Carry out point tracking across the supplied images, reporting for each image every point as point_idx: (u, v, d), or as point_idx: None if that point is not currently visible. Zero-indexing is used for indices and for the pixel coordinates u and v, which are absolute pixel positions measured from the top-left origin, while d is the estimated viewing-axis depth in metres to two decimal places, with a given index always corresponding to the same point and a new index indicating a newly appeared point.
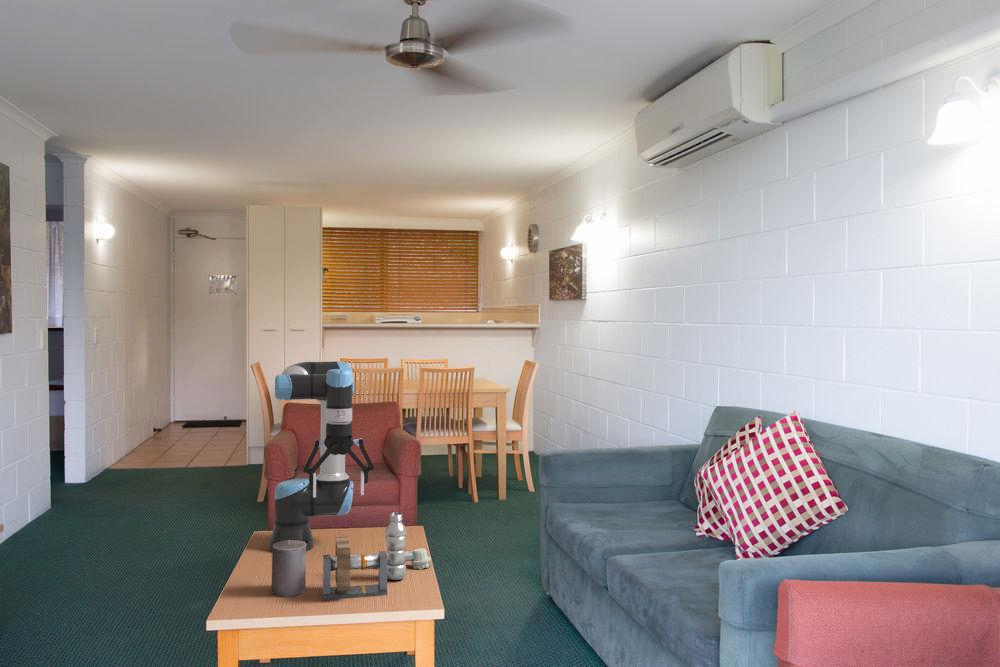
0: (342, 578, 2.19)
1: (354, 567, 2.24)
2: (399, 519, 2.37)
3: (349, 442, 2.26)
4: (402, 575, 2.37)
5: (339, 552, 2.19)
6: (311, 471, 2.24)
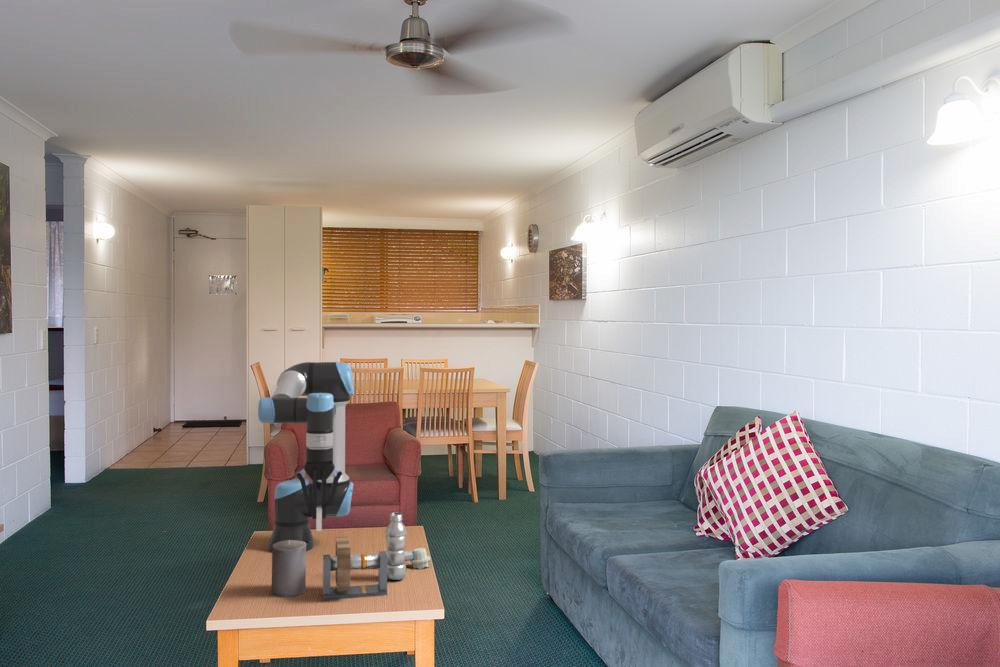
0: (342, 578, 2.19)
1: (354, 567, 2.24)
2: (399, 519, 2.37)
3: (330, 467, 2.22)
4: (402, 575, 2.37)
5: (339, 552, 2.19)
6: (313, 505, 2.21)
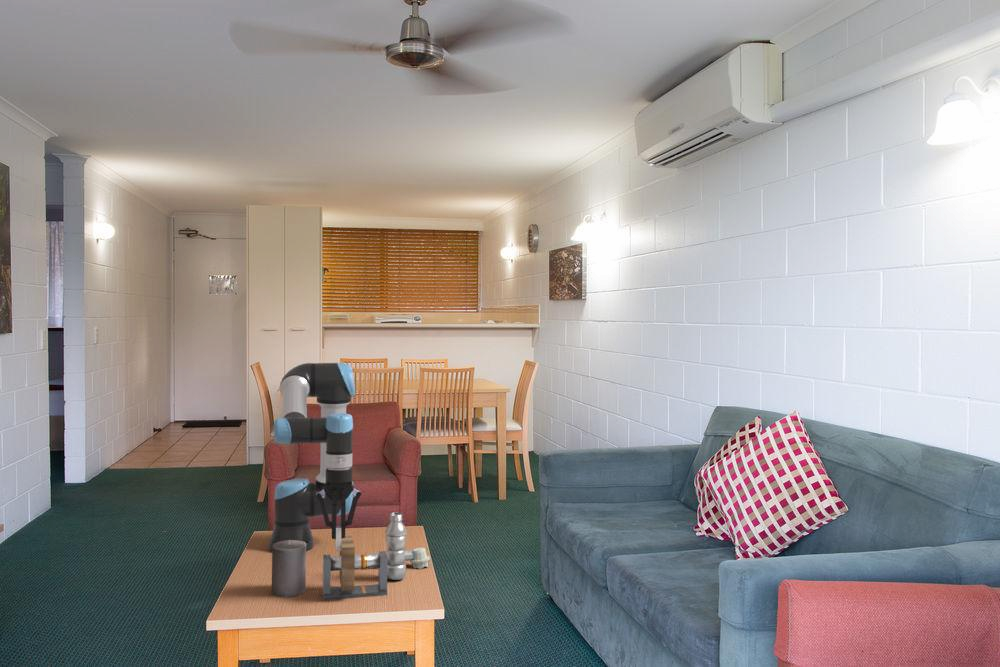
0: (346, 578, 2.19)
1: None
2: (399, 519, 2.37)
3: (349, 487, 2.24)
4: (402, 575, 2.37)
5: (343, 552, 2.19)
6: (333, 525, 2.23)
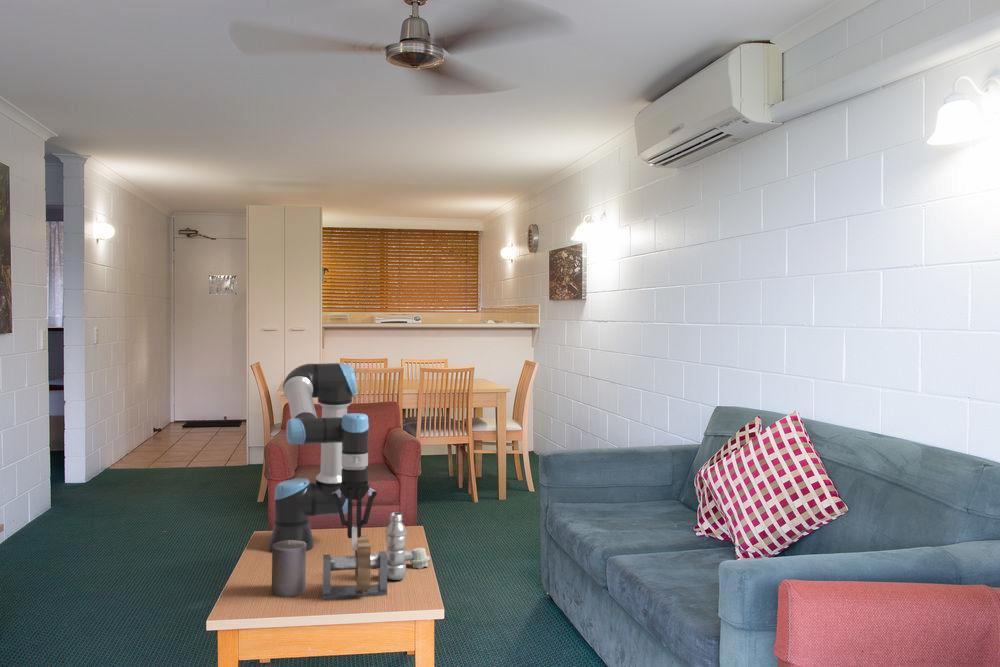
0: (362, 577, 2.20)
1: (354, 567, 2.24)
2: (399, 519, 2.37)
3: (365, 487, 2.25)
4: (402, 575, 2.37)
5: (359, 551, 2.20)
6: (349, 524, 2.24)
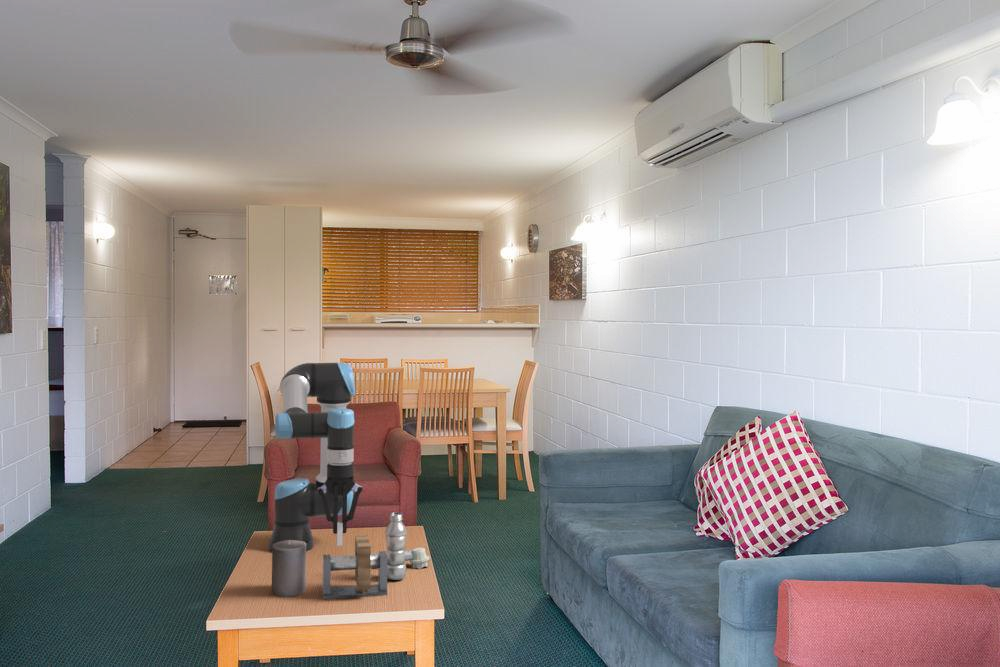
0: (362, 577, 2.20)
1: (354, 567, 2.24)
2: (399, 519, 2.37)
3: (351, 483, 2.24)
4: (402, 575, 2.37)
5: (360, 551, 2.20)
6: (334, 520, 2.23)
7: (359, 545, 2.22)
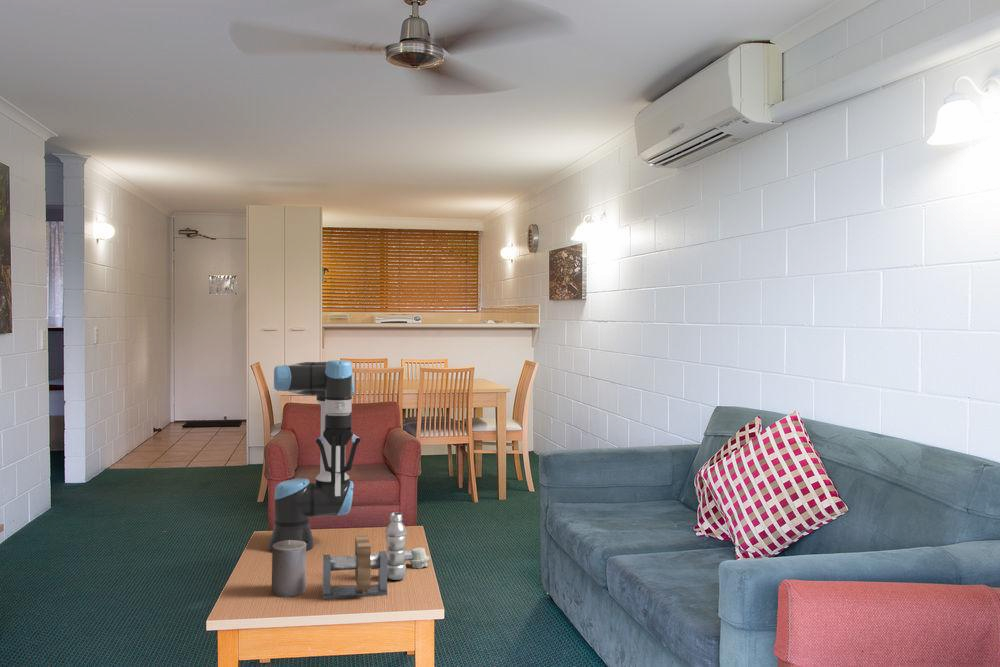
0: (362, 577, 2.20)
1: (354, 567, 2.24)
2: (399, 519, 2.37)
3: (348, 433, 2.25)
4: (402, 575, 2.37)
5: (360, 551, 2.20)
6: (332, 470, 2.24)
7: (359, 545, 2.22)
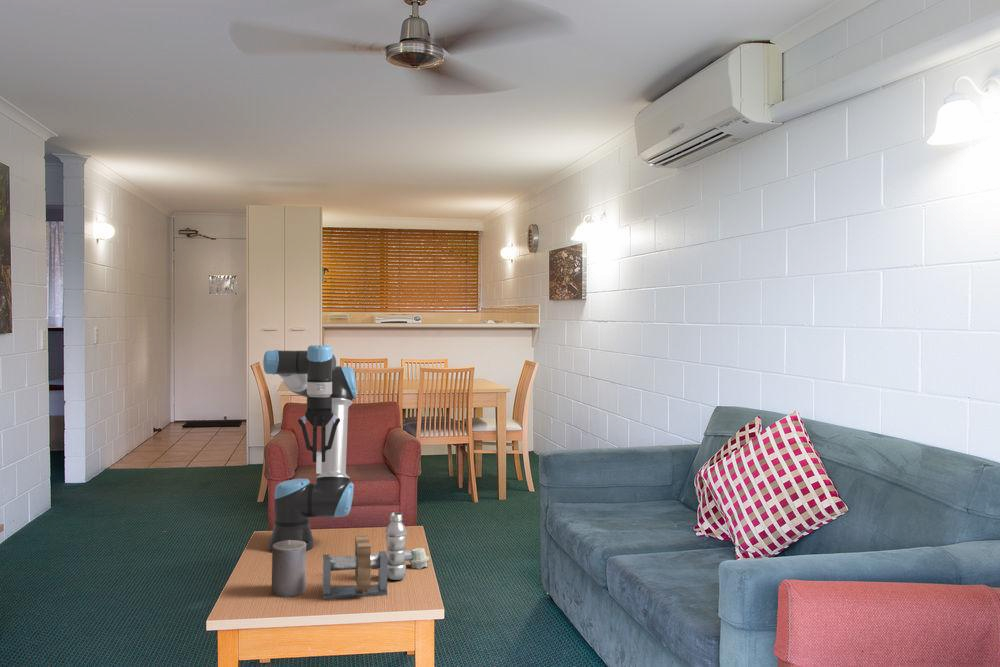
0: (362, 577, 2.20)
1: (354, 567, 2.24)
2: (399, 519, 2.37)
3: (329, 414, 2.38)
4: (402, 575, 2.37)
5: (360, 551, 2.20)
6: (314, 449, 2.37)
7: (359, 545, 2.22)
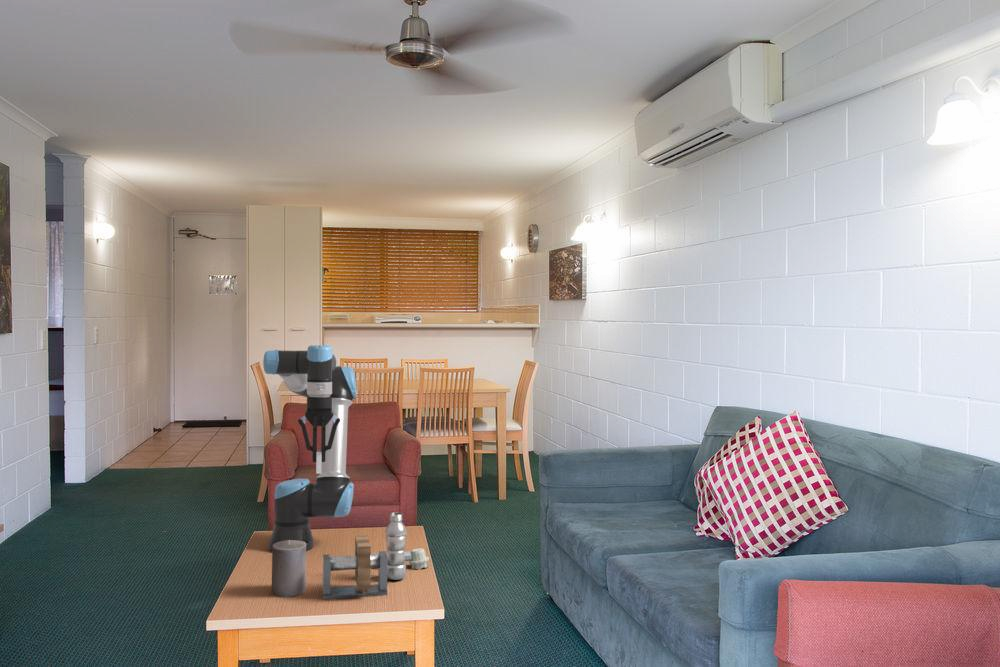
0: (362, 577, 2.20)
1: (354, 567, 2.24)
2: (399, 519, 2.37)
3: (329, 414, 2.38)
4: (402, 575, 2.37)
5: (360, 551, 2.20)
6: (314, 449, 2.37)
7: (359, 545, 2.22)
